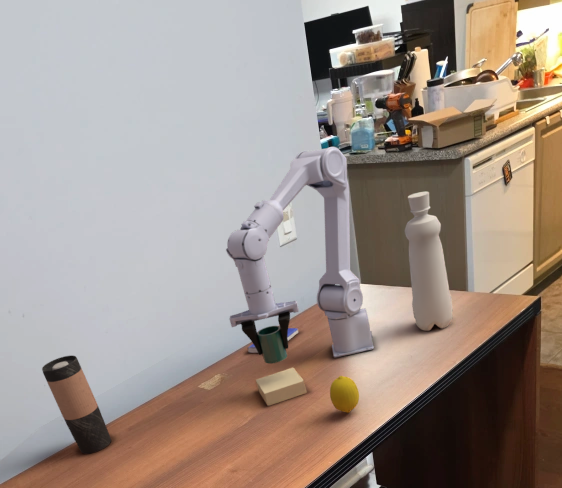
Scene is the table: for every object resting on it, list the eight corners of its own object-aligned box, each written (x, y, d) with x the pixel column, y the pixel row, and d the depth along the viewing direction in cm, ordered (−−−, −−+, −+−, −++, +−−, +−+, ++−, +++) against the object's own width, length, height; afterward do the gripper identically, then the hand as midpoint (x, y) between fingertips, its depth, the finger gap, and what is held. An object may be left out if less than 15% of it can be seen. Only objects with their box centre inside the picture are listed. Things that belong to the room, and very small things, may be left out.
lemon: (365, 405, 129) (358, 369, 125) (356, 419, 125) (349, 382, 121) (340, 406, 132) (332, 370, 128) (330, 419, 128) (322, 383, 124)
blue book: (272, 347, 165) (297, 327, 173) (247, 347, 170) (272, 328, 178) (273, 353, 166) (298, 333, 174) (248, 352, 171) (274, 333, 179)
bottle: (414, 321, 161) (397, 195, 146) (452, 314, 159) (438, 186, 144) (416, 335, 154) (397, 203, 139) (455, 328, 151) (441, 193, 136)
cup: (287, 351, 144) (280, 323, 141) (287, 360, 139) (280, 331, 136) (264, 356, 145) (257, 329, 141) (263, 365, 140) (256, 337, 137)
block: (296, 379, 149) (293, 367, 147) (307, 393, 141) (303, 380, 139) (258, 391, 148) (255, 379, 146) (267, 406, 140) (264, 393, 139)
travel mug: (118, 435, 146) (84, 353, 136) (100, 454, 140) (62, 369, 130) (91, 437, 149) (55, 356, 139) (72, 455, 143) (33, 372, 133)
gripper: (222, 303, 132) (240, 364, 139) (291, 286, 130) (306, 349, 137) (225, 293, 138) (242, 352, 145) (291, 277, 136) (305, 337, 143)
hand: (273, 350), depth 141 cm, fingers closed on cup, 5 cm apart
